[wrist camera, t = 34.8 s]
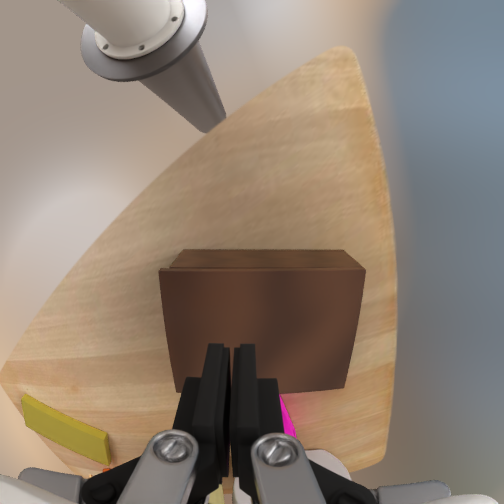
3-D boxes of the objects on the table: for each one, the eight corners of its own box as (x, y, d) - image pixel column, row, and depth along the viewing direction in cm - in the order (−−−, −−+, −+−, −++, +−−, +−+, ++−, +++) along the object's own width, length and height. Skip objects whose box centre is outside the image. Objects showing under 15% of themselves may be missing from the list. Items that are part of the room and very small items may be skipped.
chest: (192, 356, 39) (184, 386, 32) (183, 249, 35) (169, 266, 28) (329, 354, 39) (342, 384, 32) (343, 249, 35) (363, 266, 28)
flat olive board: (107, 432, 44) (18, 389, 42) (103, 439, 42) (13, 394, 40) (111, 459, 47) (29, 420, 45) (108, 466, 45) (25, 425, 43)
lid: (177, 388, 32) (176, 392, 31) (160, 268, 28) (158, 270, 27) (342, 384, 32) (343, 388, 32) (363, 266, 28) (366, 269, 28)
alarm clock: (232, 467, 47) (230, 548, 28) (234, 450, 45) (231, 540, 26) (332, 464, 48) (349, 538, 29) (342, 447, 45) (364, 527, 26)
